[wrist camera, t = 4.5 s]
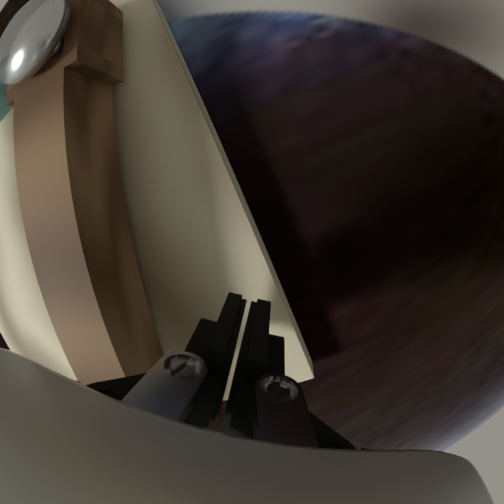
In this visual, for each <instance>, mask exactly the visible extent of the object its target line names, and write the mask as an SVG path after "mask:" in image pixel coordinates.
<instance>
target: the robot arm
mask: <svg viewBox="0 0 504 504" xmlns="http://www.w3.org/2000/svg"><path fill="white" fill-rule="evenodd" d="M246 302H247V300H246V299H242V295H240V294H236V293H232V292H229V293H228V295H227V298H226V300H225V303H224V305H223V308H222V310H221V313H220V315H219V318H218V320H217V322H216V321H212V320H208V319H204V318H201V319H200V321H199V323H198V325H197V327H196V329H195V331H194V333H193V335H192V336H191V338H190V340H189V342H188V344H187V346H186V348H185V350H184V351H174V352H170V353H167V354H165V355H164V356H162V357H161V358H160V359H159V360H158V361H157V362H156V363H155V365H154V366H153V367H152V368H151V369H150V370H149V371H148V372H147V373H143V374H138V375H133V376H128V377H123V378H117V379H112V380H106V381H101V382H95V383H91V384H88V385H87V386H84V385H82V384H81V382H80V381H76V380H72V379H70V378H68V377H66V376H64V375H62V374H60V373H58V372H56V371H54V370H52V369H50V368H48V367H46V366H44V365H42V364H40V363H38V362H36V361H34V360H32V359H30V358H27V357H25V356H23V355H21V354H18V353H15V352H12V351H10V350H6V349H2V348H0V504H494V503H493V500H492V498H491V496H490V493H489V491H488V490H487V487H486V485H485V483H484V482H483V479H482V478H481V476H480V474H479V473H478V471H477V470H476V468H475V467H474V466H473V465H472V464H471V462H469V461H468V460H467V459H465V458H462V457H460V456H457V455H453V454H450V453H446V452H441V451H433V450H412V449H411V450H370V449H365V448H362V449H361V450H356V448H355V447H354V446H353V445H352V444H351V443H350V442H349V441H347V440H346V439H345V438H343V437H342V436H341V435H339V434H338V433H337V432H335V431H334V430H333V429H331V428H330V427H329V426H327V425H326V424H325V423H324V422H322V421H321V420H320V419H318V418H317V417H316V416H315V415H313V414H312V413H311V412H310V411H308V407H307V404H306V400H305V397H304V393H303V390H302V388H301V386H300V385H299V384H298V382H297V381H295V380H294V379H292V378H291V377H289V376H286V375H285V339H284V337H281V336H277V335H272V334H269V326H270V311H271V302H270V301H266V300H262V299H257V302H254V301H251V304H250V309H249V313H248V317H247V321H246V325H245V329H244V333H243V337H242V341H241V346H240V350H239V354H238V358H237V362H236V366H235V371H234V375H233V380H232V384H231V388H230V393H229V397H228V401H227V406H226V410H225V414H224V419H223V423H228V429H227V432H229V433H231V434H232V435H230V434H226V433H221V432H217V431H213V430H209V429H205V427H207V428H210V424H211V420H215V421H218V418H219V414H220V410H221V406H222V402H223V398H224V394H225V390H226V386H227V382H228V378H229V374H230V370H231V366H232V361H233V357H234V353H235V349H236V345H237V340H238V336H239V332H240V328H241V323H242V319H243V315H244V311H245V306H246Z"/></svg>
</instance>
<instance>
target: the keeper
mask: <svg viewBox="0 0 504 504" xmlns="http://www.w3.org/2000/svg"><path fill="white" fill-rule="evenodd" d="M6 98H7V84H4V83H0V122H1V120H2V119H3V118H4V117H5V116H6V114H7V113H8V112H9V111H10V110H11V108H12V107H13V106H7V105H6Z"/></svg>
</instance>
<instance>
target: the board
mask: <svg viewBox="0 0 504 504" xmlns="http://www.w3.org/2000/svg"><path fill="white" fill-rule="evenodd" d="M109 1H110V2H112V3H113V4H114V5H115V6H116V7H118V8H119V9H120V10H121V11H122V12H123V31H122V49H123V82H122V83H119V84H116V85H114V86H112V92H113V109H114V122H115V133H116V142H117V151H118V159H119V167H120V174H121V181H122V188H123V194H124V200H125V206H126V211H127V217H128V222H129V227H130V232H131V237H132V241H133V246H134V251H135V255H136V259H137V264H138V268H139V272H140V276H141V280H142V284H143V288H144V291H145V295H146V299H147V302H148V306H149V310H150V313H151V316H152V320H153V323H154V326H155V330H156V333H157V336H158V339H159V342H160V346H161V349H162V352H163V355H165V354H167V353H170V352H174V351H184V350H185V348H186V346H187V344H188V342H189V340H190V338H191V336H192V335H193V333H194V331H195V329H196V327H197V325H198V323H199V321H200V319H201V318H204V319H208V320H212V321H216V322H217V320H218V318H219V315H220V313H221V310H222V308H223V305H224V303H225V300H226V298H227V295H228V293H229V292H232V293H236V294H240V295H242V299H246V300H247V302H246V306H245V311H244V315H243V319H242V323H241V328H240V332H239V336H238V340H237V345H236V349H235V353H234V357H233V361H232V366H231V370H230V374H229V378H228V382H227V386H226V390H225V394H224V398H223V400H228V397H229V393H230V388H231V384H232V380H233V375H234V371H235V366H236V362H237V358H238V354H239V350H240V346H241V341H242V337H243V333H244V329H245V325H246V321H247V317H248V313H249V309H250V304H251V301H254V302H257V299H262V300H266V301H270V302H271V311H270V326H269V334H272V335H277V336H281V337H284V339H285V375H286V376H289V377H291V378H292V379H294V380H295V381H297V382H302V381H305V380H309V379H312V378H314V374H313V366H312V360H311V358H310V355H309V353H308V350H307V348H306V345H305V343H304V340H303V338H302V335H301V333H300V330H299V328H298V325H297V323H296V320H295V318H294V315H293V313H292V311H291V308H290V306H289V303H288V301H287V298H286V296H285V293H284V291H283V289H282V286H281V284H280V281H279V279H278V276H277V274H276V272H275V269H274V267H273V264H272V262H271V260H270V257H269V255H268V252H267V250H266V247H265V245H264V243H263V240H262V238H261V236H260V233H259V231H258V228H257V226H256V224H255V221H254V219H253V217H252V214H251V212H250V209H249V207H248V205H247V202H246V200H245V198H244V195H243V193H242V191H241V188H240V186H239V184H238V181H237V179H236V177H235V174H234V172H233V170H232V167H231V165H230V163H229V160H228V158H227V156H226V153H225V151H224V149H223V146H222V144H221V142H220V139H219V137H218V135H217V133H216V130H215V128H214V126H213V123H212V121H211V119H210V117H209V114H208V112H207V110H206V108H205V105H204V103H203V101H202V98H201V96H200V94H199V92H198V89H197V87H196V85H195V83H194V80H193V78H192V76H191V74H190V72H189V69H188V67H187V65H186V63H185V60H184V58H183V56H182V54H181V52H180V49H179V47H178V45H177V43H176V41H175V38H174V36H173V34H172V32H171V30H170V27H169V25H168V23H167V21H166V19H165V17H164V15H163V12H162V10H161V8H160V6H159V4H158V1H157V0H109ZM13 113H14V106H13V107H12V108H11V110H10V111H9V112H8V113H7V114H6V116H5V117H4V118H3V119H2V120H1V122H0V332H1V334H2V336H3V338H4V339H5V341H6V343H7V345H8V346H9V348H10V350H11V351H12V352H15V353H18V354H21V355H23V356H25V357H27V358H30V359H32V360H34V361H36V362H38V363H40V364H42V365H44V366H46V367H48V368H50V369H52V370H54V371H56V372H58V373H60V374H62V375H64V376H66V377H68V378H70V379H72V380H76V381H78V380H77V378H76V376H75V374H74V372H73V370H72V368H71V366H70V364H69V362H68V360H67V358H66V355H65V353H64V351H63V349H62V346H61V344H60V342H59V339H58V337H57V335H56V332H55V330H54V327H53V324H52V322H51V319H50V317H49V314H48V311H47V308H46V306H45V303H44V300H43V297H42V294H41V291H40V287H39V284H38V281H37V278H36V274H35V271H34V267H33V263H32V260H31V256H30V252H29V248H28V243H27V239H26V234H25V229H24V224H23V219H22V214H21V208H20V201H19V194H18V187H17V178H16V168H15V155H14V131H13Z"/></svg>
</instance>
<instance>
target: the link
mask: <svg viewBox="0 0 504 504" xmlns="http://www.w3.org/2000/svg"><path fill="white" fill-rule="evenodd" d="M69 2H70V6H71V12H70V18H69V21H68V24H67V27H66V29H65V35H64V45H63V53H62V54H60V55H58V56H57V57H55V58H53V59H52V60H50V61H49V62H47V63H45V64H44V65H43V66H42V67H41V68H40V69H39V70H38V71H37V72H36V73H35V74H34V75H33V76H32V77H31V78H29V79H28V80H27V81H25V82H23V83H21V84H18V85H10V84H7V98H6V105H7V106H14V113H13V131H14V155H15V168H16V178H17V187H18V194H19V201H20V208H21V214H22V219H23V224H24V229H25V234H26V239H27V243H28V248H29V252H30V256H31V260H32V263H33V267H34V271H35V274H36V278H37V281H38V284H39V287H40V291H41V294H42V297H43V300H44V303H45V306H46V308H47V311H48V314H49V317H50V319H51V322H52V324H53V327H54V330H55V332H56V335H57V337H58V339H59V342H60V344H61V346H62V349H63V351H64V353H65V355H66V358H67V360H68V362H69V364H70V366H71V368H72V370H73V372H74V374H75V376H76V378H77V380H78V381H80V382H81V384H82V385H84V386H87V385H88V384H91V383H95V382H101V381H106V380H112V379H117V378H123V377H128V376H133V375H138V374H143V373H147V372H148V371H149V370H150V369H151V368H152V367H153V366H154V365H155V363H156V362H157V361H158V360H159V359H160V358H161V357H162V356H164V355H163V352H162V349H161V346H160V342H159V339H158V336H157V333H156V330H155V326H154V323H153V320H152V316H151V313H150V310H149V306H148V302H147V299H146V295H145V291H144V288H143V284H142V280H141V276H140V272H139V268H138V264H137V259H136V255H135V251H134V246H133V241H132V237H131V232H130V227H129V222H128V217H127V211H126V206H125V200H124V194H123V188H122V181H121V174H120V167H119V159H118V151H117V142H116V133H115V122H114V109H113V92H112V86H114V85H116V84H119V83H122V82H123V49H122V31H123V12H122V11H121V10H120V9H119V8H118V7H116V6H115V5H114V4H113V3H112V2H110V1H109V0H69Z"/></svg>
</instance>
